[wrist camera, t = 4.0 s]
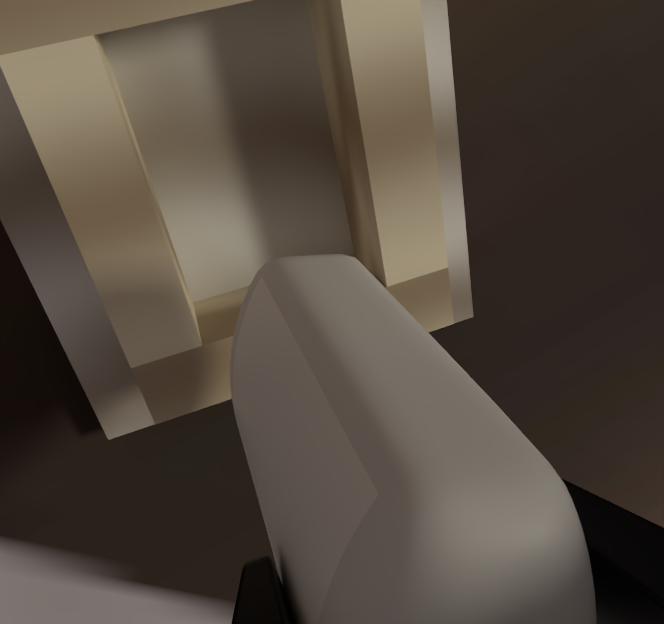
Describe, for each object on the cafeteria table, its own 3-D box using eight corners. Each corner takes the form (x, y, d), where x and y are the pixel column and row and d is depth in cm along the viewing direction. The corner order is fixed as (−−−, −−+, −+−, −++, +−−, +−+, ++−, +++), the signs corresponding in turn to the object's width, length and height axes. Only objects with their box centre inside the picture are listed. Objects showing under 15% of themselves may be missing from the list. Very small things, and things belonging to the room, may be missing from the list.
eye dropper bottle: (159, 430, 13) (280, 1855, 3) (282, 214, 12) (1258, 1433, 2) (317, 476, 15) (713, 1412, 5) (437, 296, 14) (1304, 1065, 4)
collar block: (460, 306, 23) (517, 353, 20) (108, 423, 21) (104, 500, 18) (411, -207, 16) (489, -273, 12) (-150, -116, 13) (-248, -167, 10)
